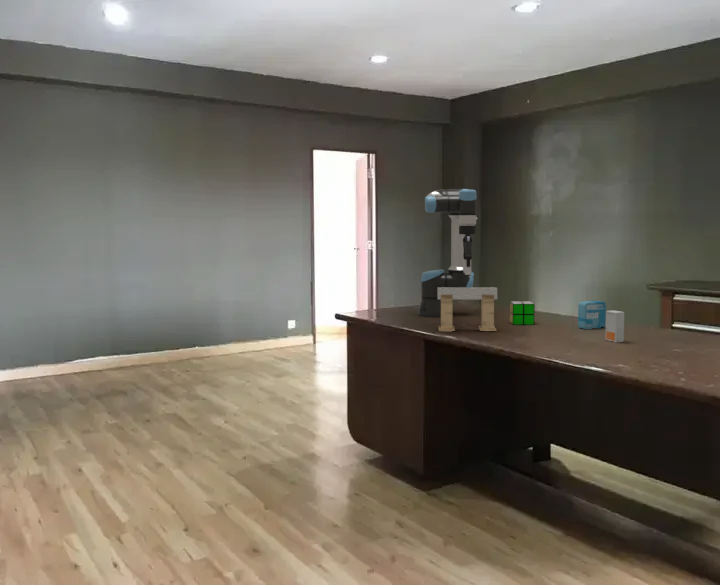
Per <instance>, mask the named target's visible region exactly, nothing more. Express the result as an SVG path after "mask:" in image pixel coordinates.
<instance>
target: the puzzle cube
mask: <svg viewBox="0 0 720 585" xmlns="http://www.w3.org/2000/svg"><path fill="white" fill-rule="evenodd" d="M509 303H510V304H509V306H510V307H509V309H510V311H509V322H510V323H511V324H512V325H513V326H516V325H517V326H521V325H522V326H534V325H535V307H536V306H535V304H534V303H533V302H532V301H529V300H528V301H526V300H525V301H517V300H516V301H514V300H513V301H512V300H511V301H510V302H509Z"/></svg>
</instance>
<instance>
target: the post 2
mask: <svg viewBox="0 0 720 585" xmlns="http://www.w3.org/2000/svg"><path fill="white" fill-rule="evenodd" d="M480 300H481V301H480V304H481V308H480V311H481V312H480V313H481V315H480V316H481V317H480V325H478V330H480V331H496V332H497V328H496V327H495V300H494V295H482V299H480ZM480 331H479V332H480Z"/></svg>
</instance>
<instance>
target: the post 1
mask: <svg viewBox="0 0 720 585" xmlns="http://www.w3.org/2000/svg"><path fill="white" fill-rule="evenodd" d="M453 300H454V299H453V295H441V316H440V325H438V328H437V329H438V332H452V331H456V330H455V329H456V328H455V326H454V325H453V303H454V302H453Z"/></svg>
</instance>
